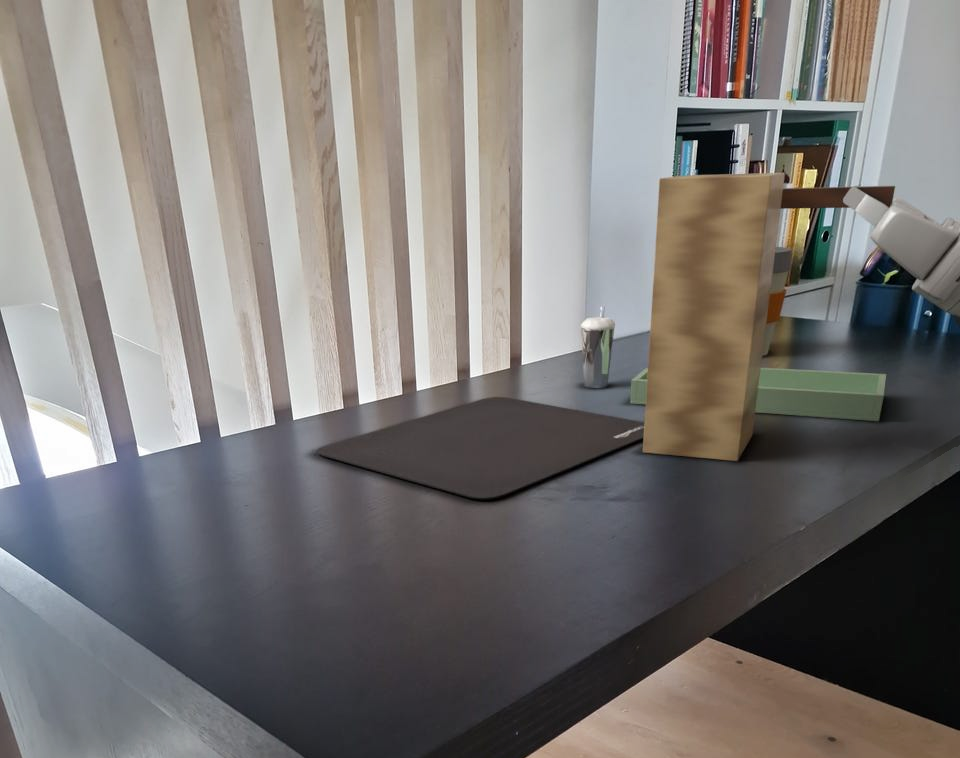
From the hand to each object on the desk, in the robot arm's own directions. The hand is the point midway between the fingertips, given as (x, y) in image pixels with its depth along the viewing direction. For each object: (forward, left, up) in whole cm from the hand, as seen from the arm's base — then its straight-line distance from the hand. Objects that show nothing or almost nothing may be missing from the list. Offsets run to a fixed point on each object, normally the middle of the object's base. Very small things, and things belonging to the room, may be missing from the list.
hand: (847, 192), depth 96 cm
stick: (+7, 0, -1) cm, 7 cm away
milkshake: (+29, -3, -24) cm, 38 cm away
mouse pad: (+32, +27, -24) cm, 48 cm away
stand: (+10, +21, -24) cm, 33 cm away
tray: (+7, 0, -24) cm, 25 cm away
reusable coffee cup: (+14, -31, -24) cm, 42 cm away
